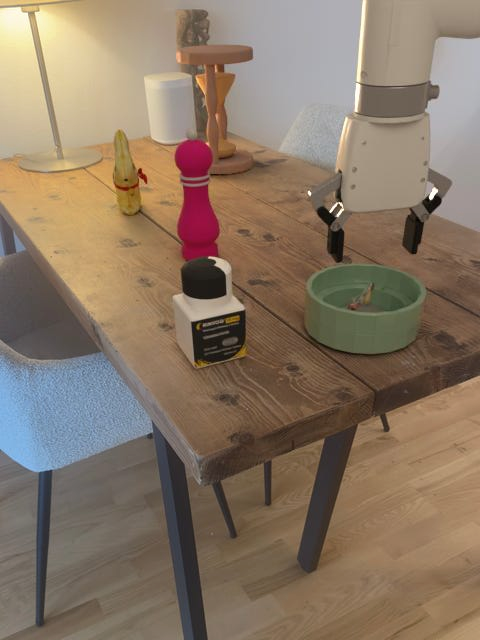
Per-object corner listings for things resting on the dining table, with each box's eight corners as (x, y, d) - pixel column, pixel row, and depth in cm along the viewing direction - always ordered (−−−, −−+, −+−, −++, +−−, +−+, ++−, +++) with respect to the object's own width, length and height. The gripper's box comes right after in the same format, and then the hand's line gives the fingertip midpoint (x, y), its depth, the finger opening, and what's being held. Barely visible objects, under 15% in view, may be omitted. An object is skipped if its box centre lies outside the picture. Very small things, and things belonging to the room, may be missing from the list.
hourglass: (201, 155, 152) (194, 44, 137) (262, 159, 148) (262, 44, 132) (173, 172, 140) (162, 52, 124) (239, 178, 135) (237, 53, 119)
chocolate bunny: (118, 218, 114) (105, 137, 105) (117, 202, 123) (105, 125, 113) (152, 216, 115) (142, 135, 106) (149, 199, 124) (139, 123, 114)
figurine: (379, 334, 75) (385, 292, 71) (346, 332, 76) (350, 291, 72) (376, 315, 79) (382, 275, 75) (345, 314, 80) (349, 274, 76)
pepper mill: (191, 267, 95) (181, 136, 82) (172, 253, 100) (160, 127, 87) (228, 257, 98) (224, 129, 85) (208, 244, 102) (200, 121, 90)
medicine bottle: (195, 370, 70) (187, 280, 63) (176, 344, 75) (167, 257, 68) (247, 357, 72) (245, 268, 65) (225, 332, 77) (221, 247, 70)
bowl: (393, 297, 84) (399, 259, 81) (437, 350, 73) (446, 308, 69) (292, 307, 83) (294, 268, 79) (321, 363, 71) (324, 320, 67)
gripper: (450, 89, 64) (425, 236, 75) (303, 100, 62) (299, 250, 73) (483, 101, 58) (450, 259, 69) (321, 114, 57) (314, 274, 68)
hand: (372, 254), depth 71 cm, fingers open, 9 cm apart
